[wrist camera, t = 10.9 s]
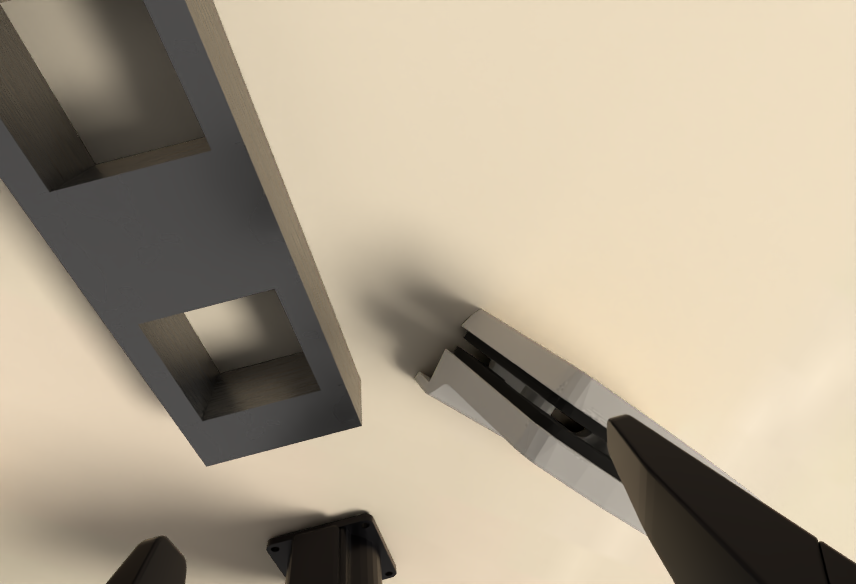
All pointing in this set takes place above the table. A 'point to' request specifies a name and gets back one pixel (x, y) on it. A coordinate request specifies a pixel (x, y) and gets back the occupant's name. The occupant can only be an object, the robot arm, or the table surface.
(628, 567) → the table surface
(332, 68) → the table surface
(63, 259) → the grey cinder block
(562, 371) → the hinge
